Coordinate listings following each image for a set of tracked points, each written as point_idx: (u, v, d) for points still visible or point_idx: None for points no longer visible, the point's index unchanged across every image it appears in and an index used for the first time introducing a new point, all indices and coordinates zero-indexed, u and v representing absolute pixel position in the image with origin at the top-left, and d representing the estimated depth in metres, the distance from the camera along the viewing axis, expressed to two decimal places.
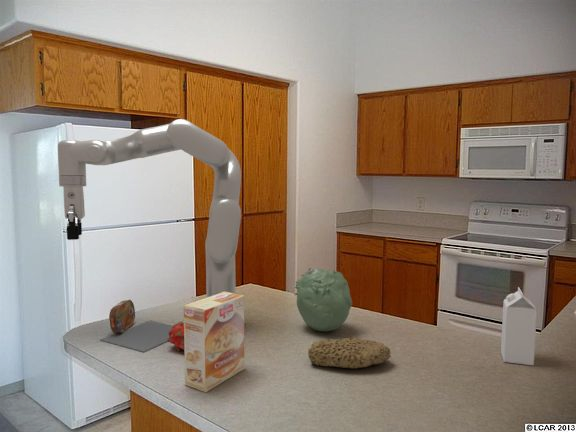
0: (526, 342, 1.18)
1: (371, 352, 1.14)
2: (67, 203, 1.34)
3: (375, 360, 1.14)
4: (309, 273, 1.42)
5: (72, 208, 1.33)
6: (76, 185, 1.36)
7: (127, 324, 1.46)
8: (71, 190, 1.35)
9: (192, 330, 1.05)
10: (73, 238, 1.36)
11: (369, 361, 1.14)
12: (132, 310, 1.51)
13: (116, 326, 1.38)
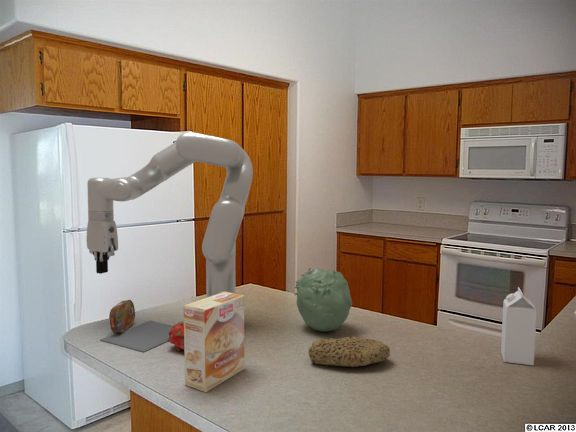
0: (526, 342, 1.18)
1: (371, 351, 1.15)
2: (108, 237, 1.43)
3: (375, 358, 1.15)
4: (309, 273, 1.42)
5: (112, 247, 1.45)
6: (111, 220, 1.45)
7: (127, 324, 1.46)
8: (110, 225, 1.44)
9: (192, 330, 1.05)
10: (104, 271, 1.47)
11: (369, 360, 1.15)
12: (132, 310, 1.51)
13: (116, 326, 1.38)
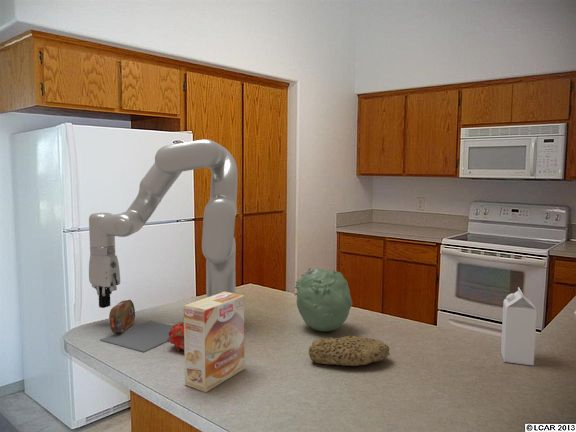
0: (526, 342, 1.18)
1: (371, 350, 1.16)
2: (110, 272, 1.44)
3: (375, 357, 1.16)
4: (309, 273, 1.42)
5: (114, 282, 1.46)
6: (113, 254, 1.46)
7: (127, 324, 1.46)
8: (112, 260, 1.45)
9: (192, 330, 1.05)
10: (106, 305, 1.48)
11: (369, 359, 1.15)
12: (132, 310, 1.51)
13: (116, 326, 1.38)
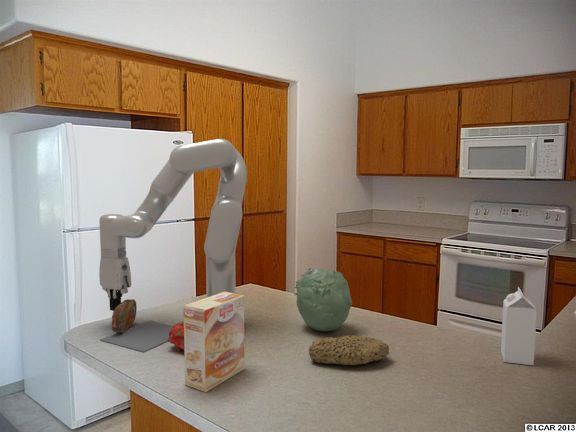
0: (526, 342, 1.18)
1: (371, 349, 1.16)
2: (121, 275, 1.42)
3: (375, 357, 1.16)
4: (308, 273, 1.42)
5: (125, 284, 1.43)
6: (124, 257, 1.44)
7: (127, 324, 1.46)
8: (123, 262, 1.42)
9: (192, 330, 1.05)
10: None
11: (369, 358, 1.16)
12: (134, 309, 1.51)
13: (118, 326, 1.38)
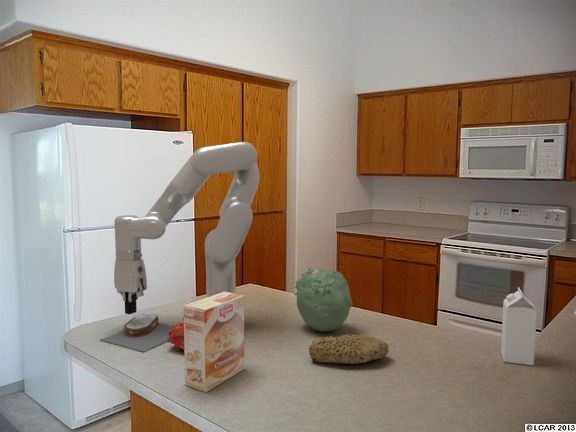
0: (526, 342, 1.18)
1: (371, 348, 1.17)
2: (137, 278, 1.38)
3: (375, 355, 1.17)
4: (308, 273, 1.42)
5: (141, 287, 1.40)
6: (140, 259, 1.41)
7: None
8: (139, 264, 1.39)
9: (192, 330, 1.05)
10: (132, 312, 1.43)
11: (369, 356, 1.16)
12: None
13: (129, 335, 1.38)
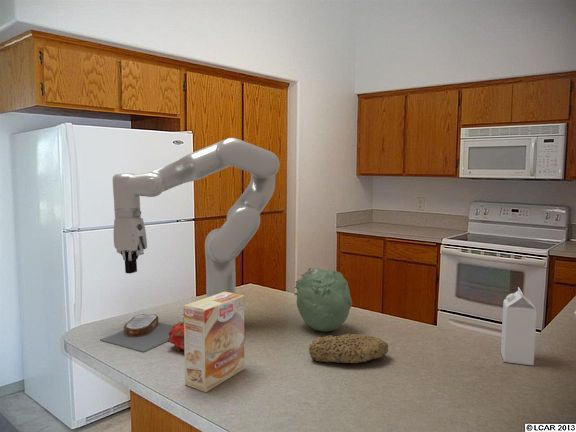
0: (526, 342, 1.18)
1: (371, 347, 1.18)
2: (137, 235, 1.37)
3: (375, 355, 1.18)
4: (309, 273, 1.42)
5: (141, 245, 1.39)
6: (139, 217, 1.39)
7: None
8: (138, 222, 1.38)
9: (192, 330, 1.05)
10: (133, 271, 1.41)
11: (369, 356, 1.17)
12: None
13: (129, 335, 1.38)
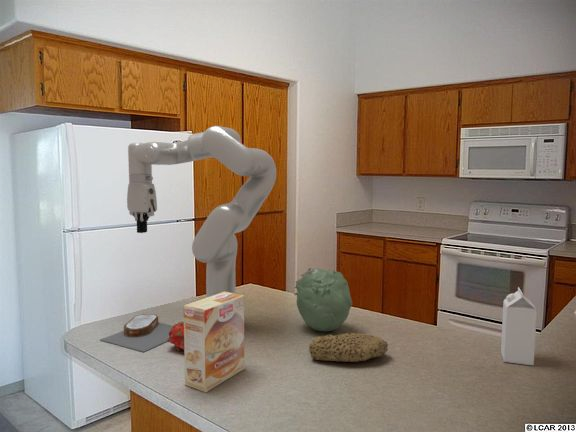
0: (526, 342, 1.18)
1: (371, 346, 1.18)
2: (149, 198, 1.53)
3: (374, 353, 1.18)
4: (308, 273, 1.42)
5: (152, 208, 1.55)
6: (151, 182, 1.56)
7: None
8: (150, 187, 1.54)
9: (192, 330, 1.05)
10: (144, 231, 1.58)
11: (369, 354, 1.18)
12: None
13: (129, 335, 1.38)
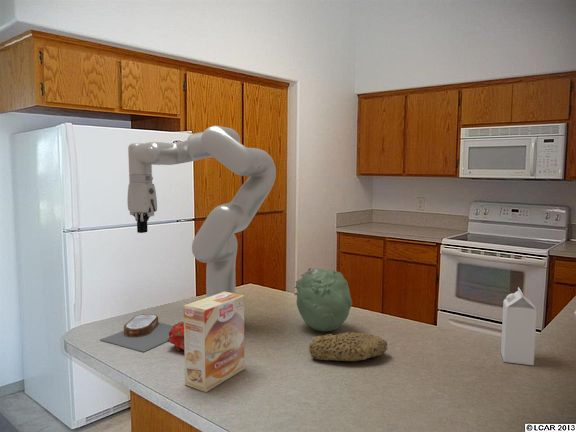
0: (526, 342, 1.18)
1: (370, 345, 1.19)
2: (149, 198, 1.54)
3: (374, 352, 1.19)
4: (309, 273, 1.42)
5: (152, 208, 1.55)
6: (151, 182, 1.56)
7: None
8: (150, 187, 1.54)
9: (192, 330, 1.05)
10: (144, 231, 1.58)
11: (369, 354, 1.18)
12: None
13: (129, 335, 1.38)
